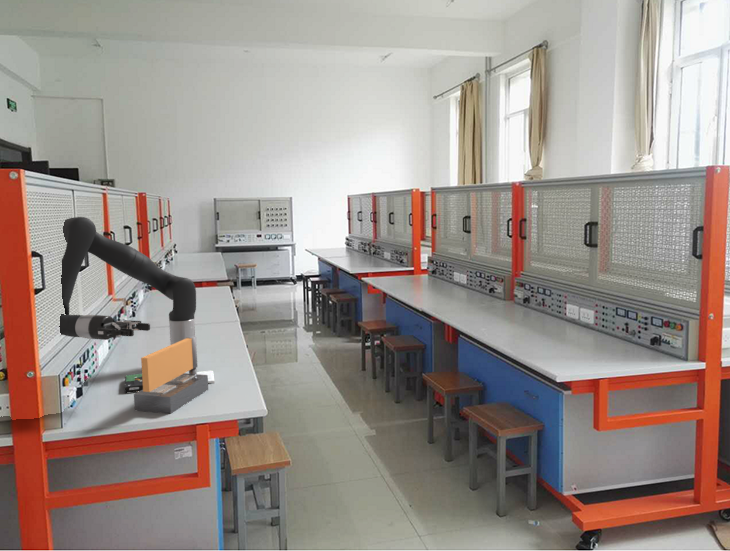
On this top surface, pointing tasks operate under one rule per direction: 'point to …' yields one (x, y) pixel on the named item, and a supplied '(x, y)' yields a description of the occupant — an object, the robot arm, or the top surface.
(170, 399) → the grey flat block
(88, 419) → the top surface
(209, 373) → the external hard drive
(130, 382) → the disk drive
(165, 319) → the top surface
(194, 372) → the boom post
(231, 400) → the top surface
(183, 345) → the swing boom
